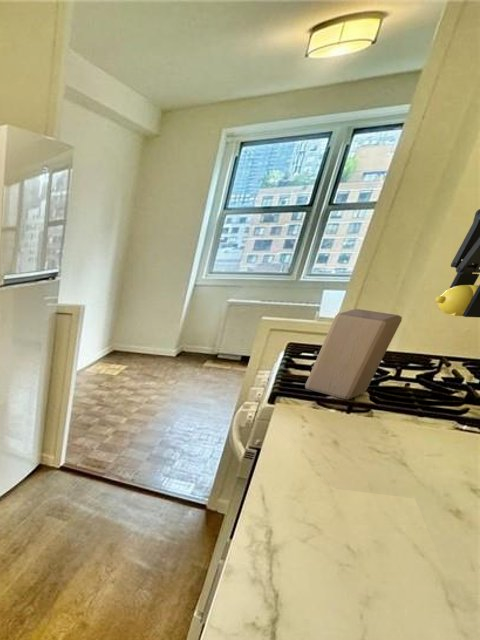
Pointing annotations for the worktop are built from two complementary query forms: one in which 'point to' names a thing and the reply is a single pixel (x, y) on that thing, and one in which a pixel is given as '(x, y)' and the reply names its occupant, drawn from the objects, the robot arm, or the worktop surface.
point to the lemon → (456, 299)
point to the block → (352, 352)
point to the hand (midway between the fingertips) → (461, 312)
